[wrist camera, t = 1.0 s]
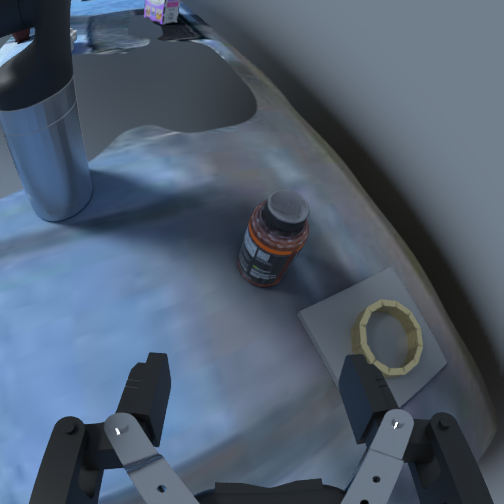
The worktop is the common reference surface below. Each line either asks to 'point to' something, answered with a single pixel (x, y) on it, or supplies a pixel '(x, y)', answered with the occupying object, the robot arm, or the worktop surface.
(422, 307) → the worktop surface
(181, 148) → the worktop surface
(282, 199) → the supplement bottle
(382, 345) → the grey square plate
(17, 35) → the mate gourd
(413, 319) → the brass collar
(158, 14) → the candy box
